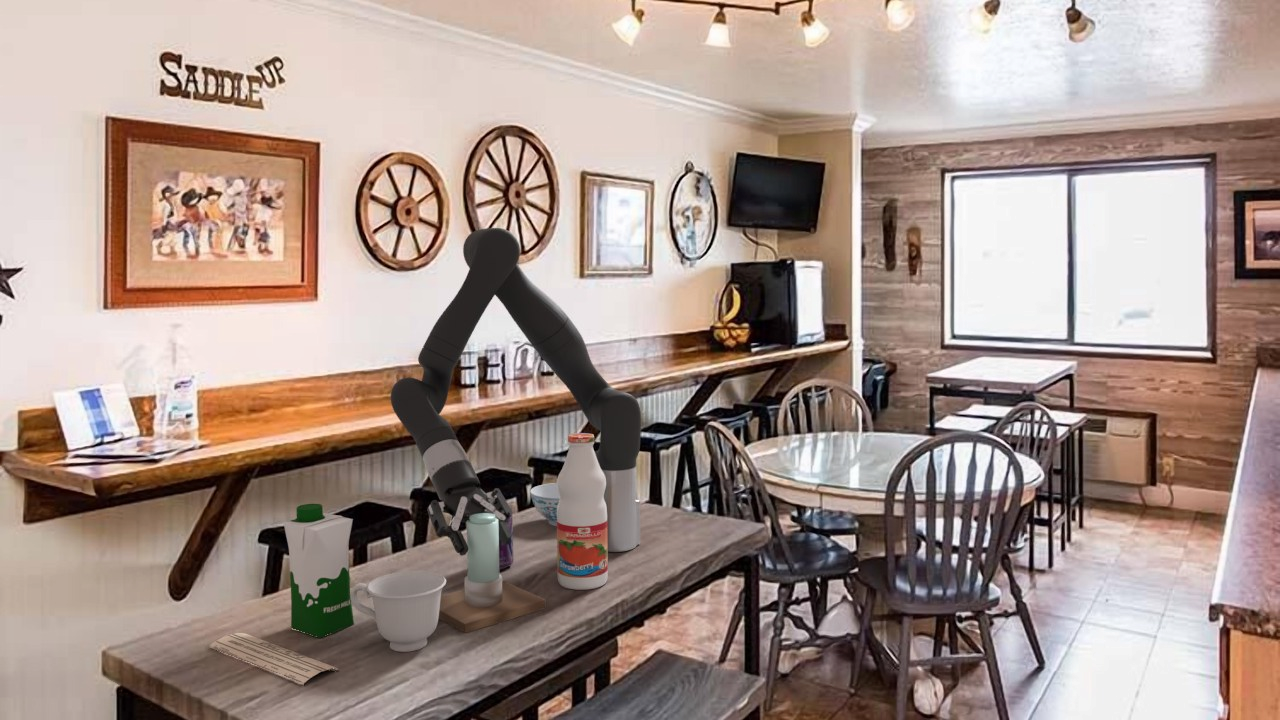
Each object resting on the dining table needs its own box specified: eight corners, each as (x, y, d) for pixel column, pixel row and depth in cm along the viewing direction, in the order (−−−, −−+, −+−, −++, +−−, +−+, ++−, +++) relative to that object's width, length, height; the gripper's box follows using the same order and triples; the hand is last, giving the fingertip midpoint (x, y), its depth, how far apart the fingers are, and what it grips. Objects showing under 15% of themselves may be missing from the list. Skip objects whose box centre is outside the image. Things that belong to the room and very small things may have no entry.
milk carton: (326, 613, 157) (321, 498, 155) (362, 623, 152) (358, 506, 150) (282, 630, 149) (277, 510, 147) (319, 642, 145) (314, 518, 143)
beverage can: (506, 573, 177) (505, 512, 176) (471, 571, 179) (470, 510, 177) (518, 561, 184) (517, 503, 183) (484, 559, 185) (483, 501, 184)
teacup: (365, 629, 150) (363, 569, 149) (455, 629, 149) (454, 570, 148) (338, 660, 138) (336, 596, 137) (437, 661, 137) (435, 596, 136)
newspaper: (209, 652, 143) (209, 641, 143) (251, 637, 149) (250, 626, 148) (304, 691, 130) (303, 679, 129) (345, 672, 135) (344, 661, 135)
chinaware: (517, 523, 212) (516, 490, 211) (563, 510, 223) (563, 479, 222) (563, 535, 202) (562, 501, 201) (609, 521, 213) (608, 488, 212)
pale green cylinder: (488, 570, 162) (487, 510, 161) (505, 577, 158) (504, 516, 157) (461, 577, 158) (460, 516, 157) (478, 585, 154) (477, 522, 153)
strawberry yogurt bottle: (607, 573, 177) (606, 430, 174) (607, 590, 167) (606, 439, 165) (558, 574, 176) (557, 430, 174) (556, 591, 167) (554, 440, 164)
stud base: (500, 587, 169) (500, 558, 169) (545, 608, 159) (544, 577, 158) (422, 609, 158) (421, 578, 158) (465, 632, 148) (464, 600, 148)
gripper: (421, 464, 157) (458, 544, 150) (492, 453, 166) (529, 527, 159) (407, 489, 161) (442, 568, 154) (477, 476, 171) (513, 550, 163)
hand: (486, 547), depth 157 cm, fingers open, 8 cm apart
